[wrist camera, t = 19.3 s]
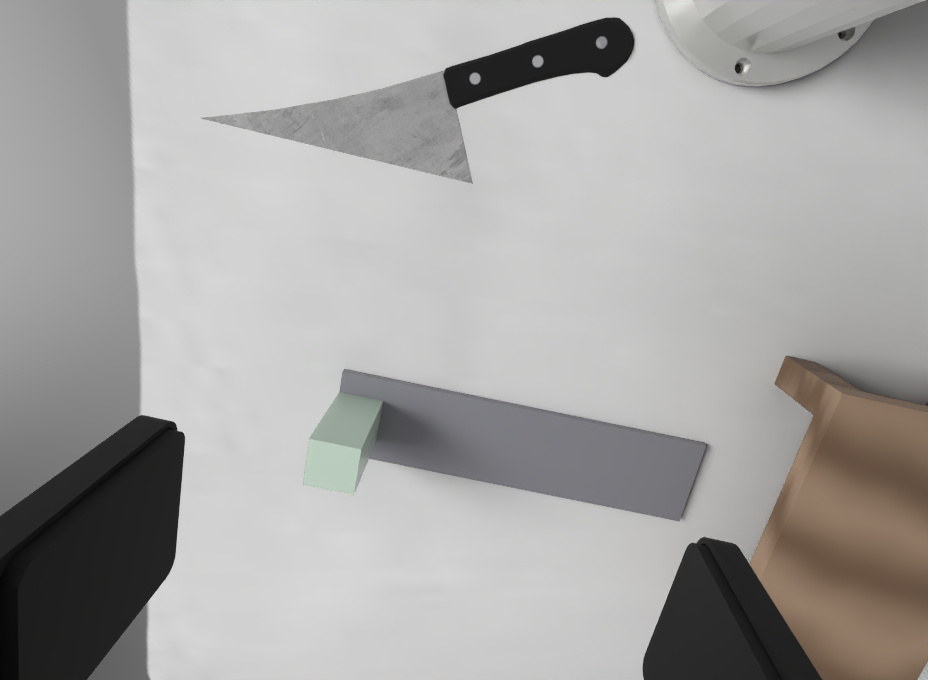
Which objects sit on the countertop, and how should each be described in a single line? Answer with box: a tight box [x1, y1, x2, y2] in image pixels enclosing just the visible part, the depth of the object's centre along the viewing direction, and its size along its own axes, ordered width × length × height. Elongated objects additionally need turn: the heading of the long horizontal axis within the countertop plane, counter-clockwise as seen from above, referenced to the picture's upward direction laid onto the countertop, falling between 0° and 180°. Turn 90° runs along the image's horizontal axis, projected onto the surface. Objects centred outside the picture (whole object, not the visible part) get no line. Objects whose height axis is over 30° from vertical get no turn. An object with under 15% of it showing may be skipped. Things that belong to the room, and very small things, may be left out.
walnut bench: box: [750, 356, 928, 680], centre depth 38 cm, size 20×12×6 cm, turn 168°
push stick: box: [303, 369, 706, 521], centre depth 38 cm, size 6×25×8 cm, turn 79°
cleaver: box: [202, 18, 634, 184], centre depth 36 cm, size 29×1×10 cm
